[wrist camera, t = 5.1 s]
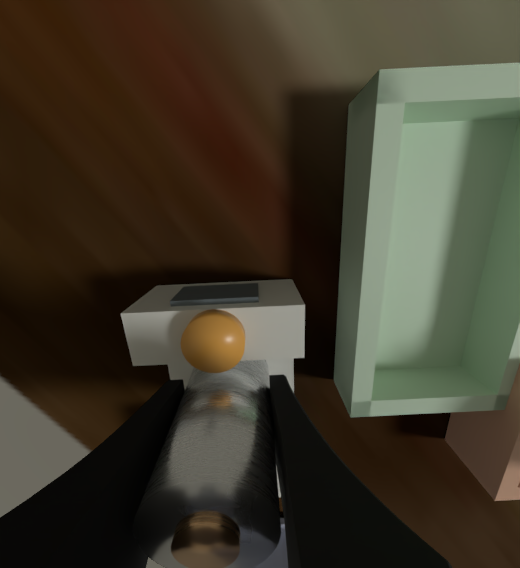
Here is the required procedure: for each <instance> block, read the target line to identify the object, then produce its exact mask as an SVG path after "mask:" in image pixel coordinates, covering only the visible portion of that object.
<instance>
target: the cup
mask: <svg viewBox="0 0 520 568" xmlns="http://www.w3.org/2000/svg"><path fill="white" fill-rule="evenodd" d="M445 440H446V442H447V443H448V444H449V445H450V447H451V448H452V449H453V450H454V451H455V453H456V454H457V455H458V456H459V458H460V459H461V460H462V461H463V463H464V464H465V465H466V466H467V467H468V469H469V470H470V471H471V472H472V474H473V475H474V476H475V477H476V478H477V480H478V481H479V482H480V483H481V485H482V486H483V487H484V488H485V489H486V491H487V492H488V493H489V494H490V496H491V497H492V498H493V499H494V500H495V501H500V500H520V364H519V367H518V370H517V373H516V376H515V379H514V383H513V386H512V389H511V392H510V395H509V398H508V401H507V404H506V407H505V410H492V411H471V412H451V415H450V419H449V423H448V427H447V432H446V436H445Z"/></svg>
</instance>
